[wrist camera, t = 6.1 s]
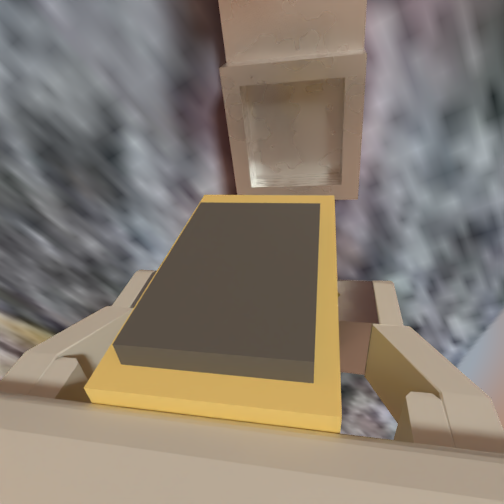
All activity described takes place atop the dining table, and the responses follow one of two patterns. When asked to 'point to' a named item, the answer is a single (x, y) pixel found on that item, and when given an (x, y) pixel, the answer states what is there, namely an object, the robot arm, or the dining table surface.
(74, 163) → the dining table surface
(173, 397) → the yellow block grey top
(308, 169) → the beige base with post
